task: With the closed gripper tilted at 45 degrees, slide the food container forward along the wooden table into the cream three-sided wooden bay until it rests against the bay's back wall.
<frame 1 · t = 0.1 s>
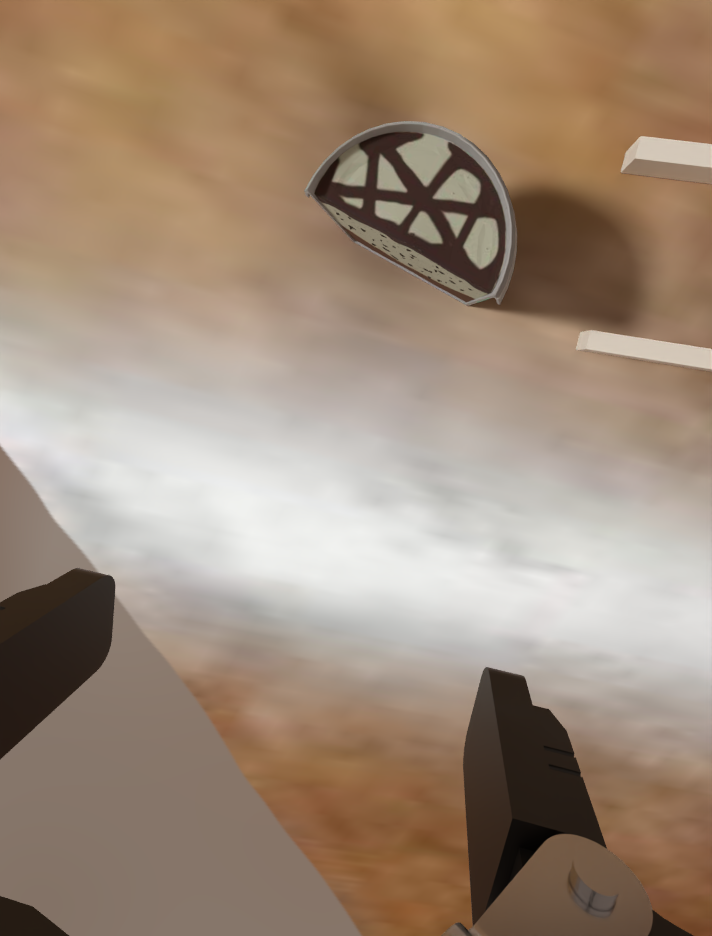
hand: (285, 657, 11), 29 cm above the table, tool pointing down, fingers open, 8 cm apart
food container: (432, 232, 36), on the table
bay: (643, 261, 34), on the table
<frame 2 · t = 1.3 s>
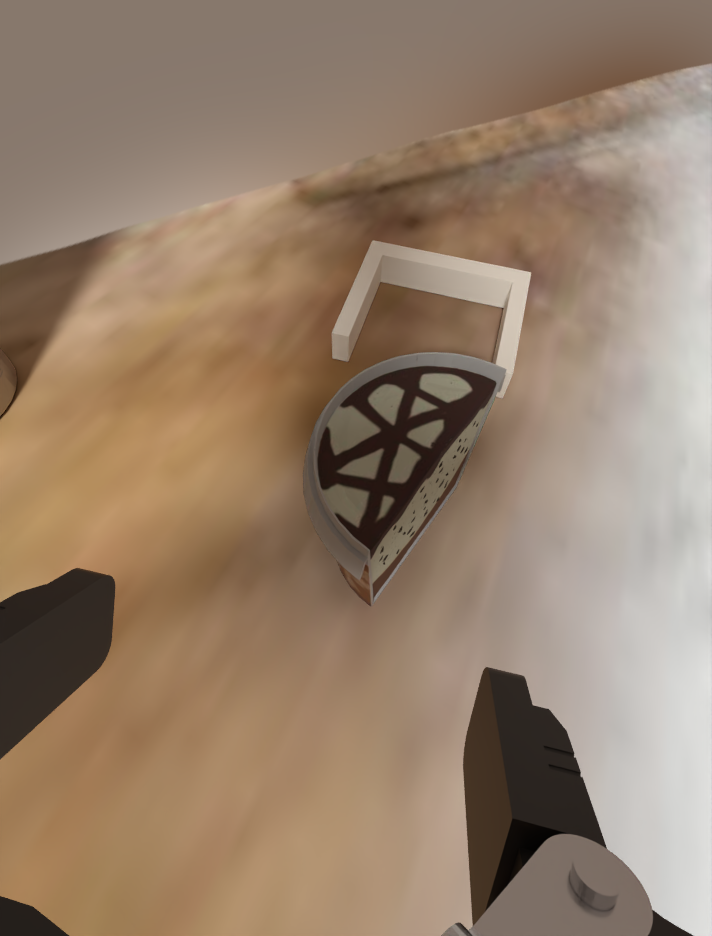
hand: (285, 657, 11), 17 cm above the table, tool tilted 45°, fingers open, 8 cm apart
food container: (373, 516, 32), on the table
bay: (424, 349, 38), on the table
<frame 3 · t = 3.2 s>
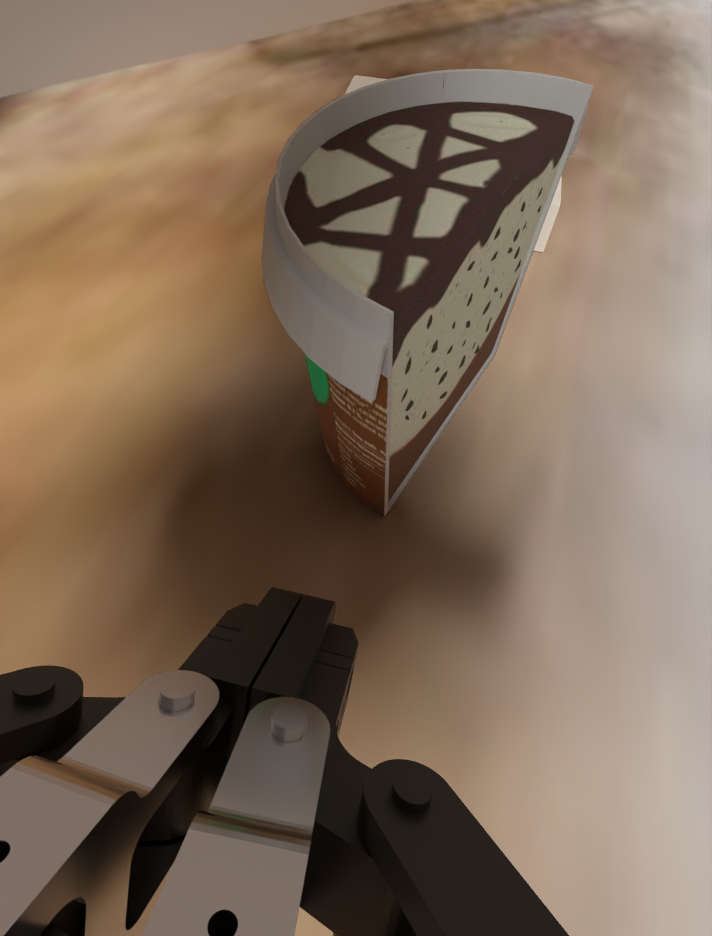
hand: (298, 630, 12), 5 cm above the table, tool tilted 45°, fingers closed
food container: (378, 398, 22), on the table
bay: (431, 203, 29), on the table
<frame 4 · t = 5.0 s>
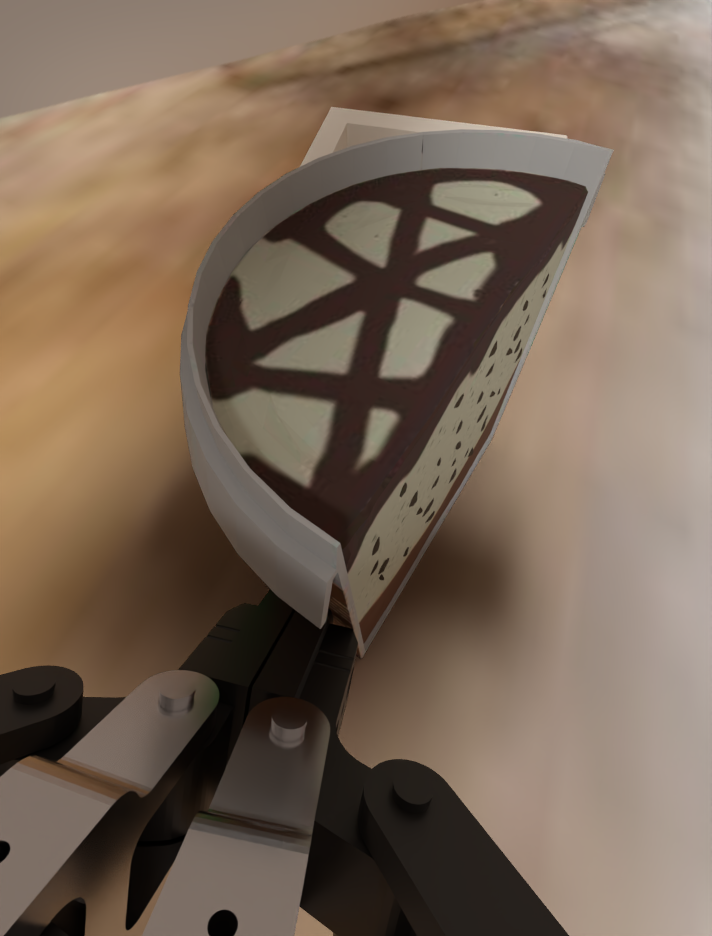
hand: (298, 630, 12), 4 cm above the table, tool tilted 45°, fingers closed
food container: (356, 495, 19), on the table, touching gripper
bay: (417, 252, 25), on the table
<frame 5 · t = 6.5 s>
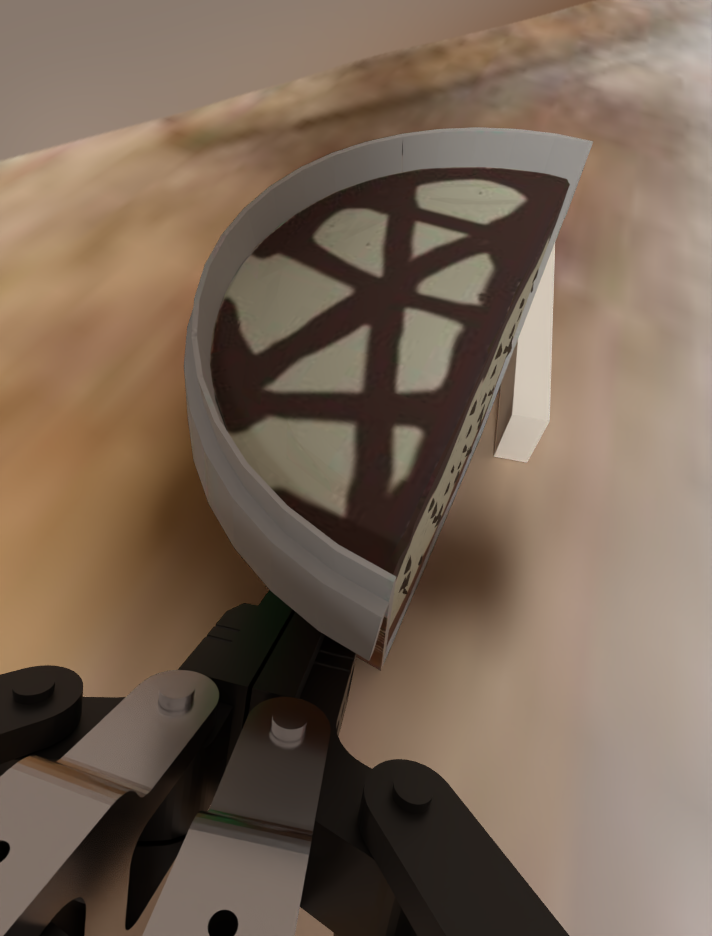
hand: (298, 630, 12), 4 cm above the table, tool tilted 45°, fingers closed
food container: (354, 504, 18), on the table, touching gripper
bay: (374, 376, 21), on the table
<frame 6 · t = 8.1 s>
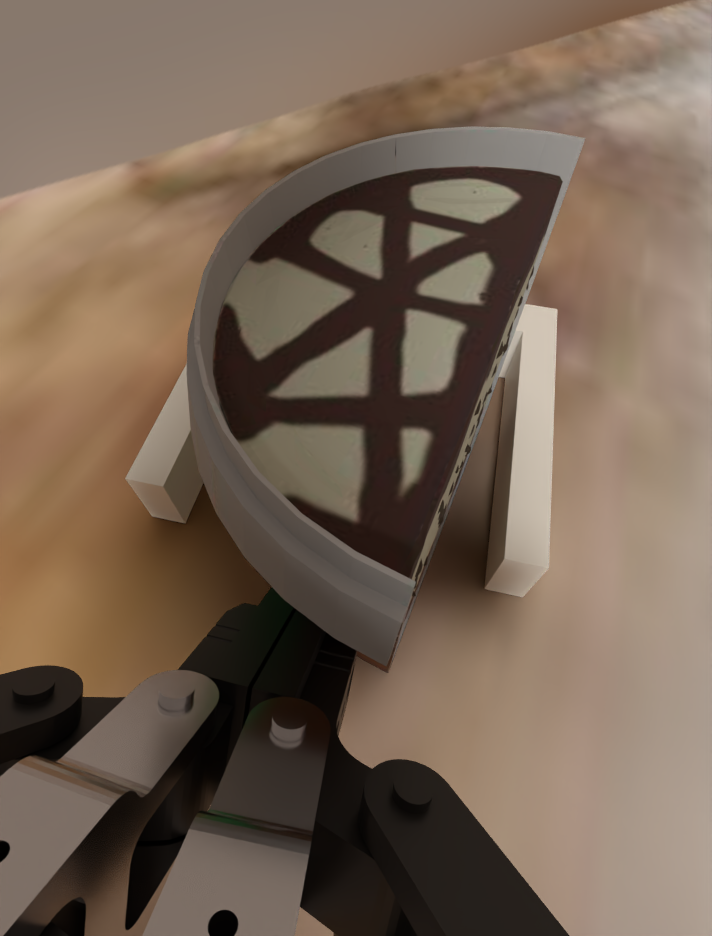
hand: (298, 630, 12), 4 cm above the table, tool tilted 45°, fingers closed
food container: (354, 506, 18), on the table, touching gripper
bay: (349, 482, 18), on the table
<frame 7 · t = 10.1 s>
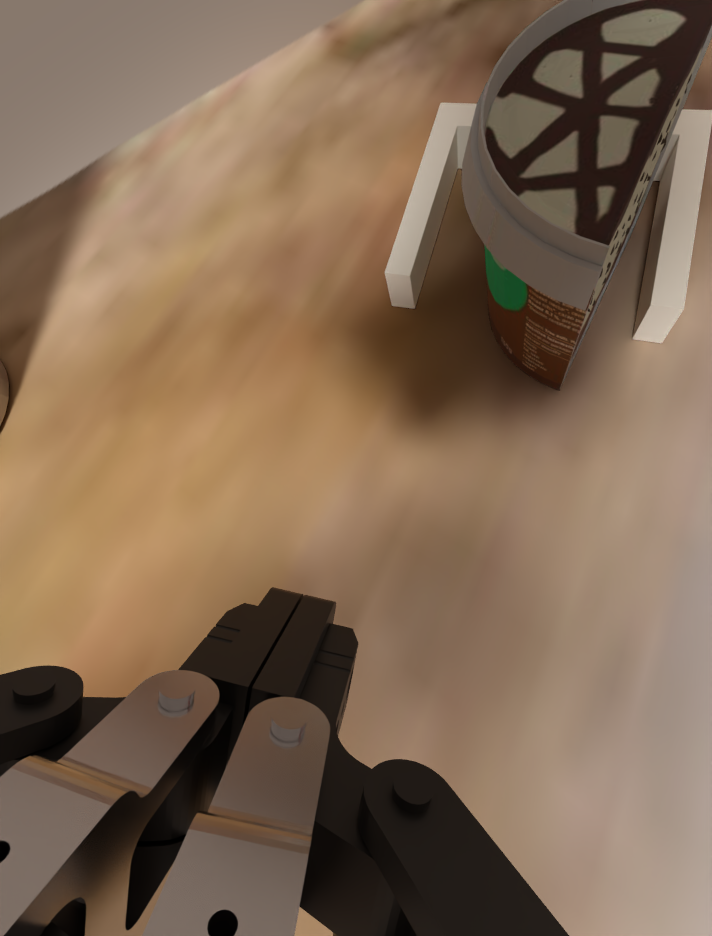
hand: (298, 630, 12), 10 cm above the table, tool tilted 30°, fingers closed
food container: (533, 290, 25), on the table
bay: (529, 274, 25), on the table
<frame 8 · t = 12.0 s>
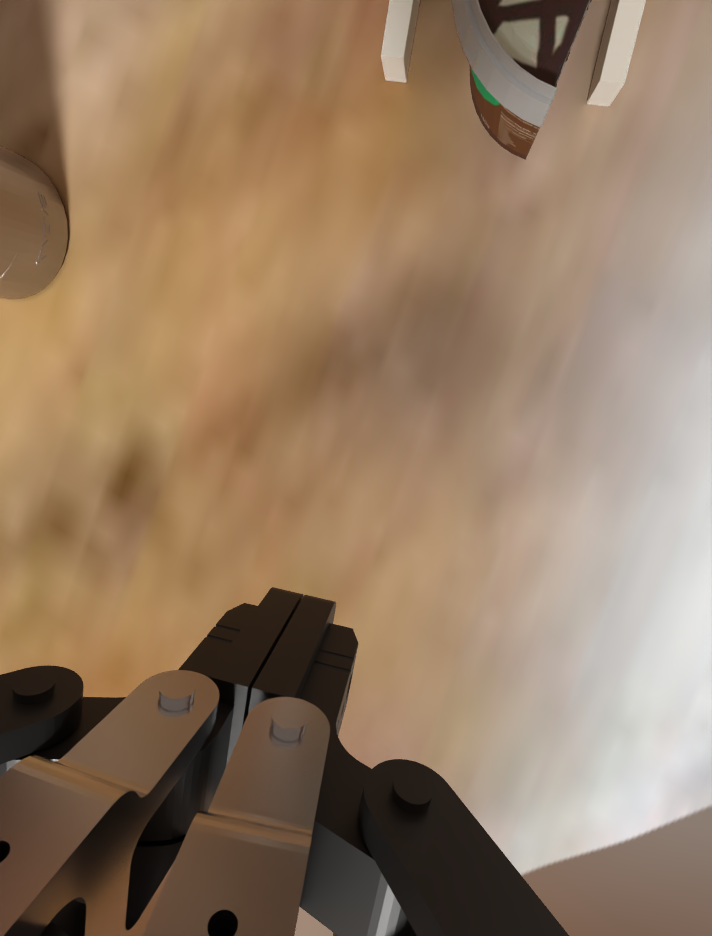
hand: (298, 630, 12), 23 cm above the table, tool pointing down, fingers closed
food container: (508, 53, 29), on the table
bay: (506, 35, 29), on the table
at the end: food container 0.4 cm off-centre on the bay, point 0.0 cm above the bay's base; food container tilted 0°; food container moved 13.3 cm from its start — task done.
